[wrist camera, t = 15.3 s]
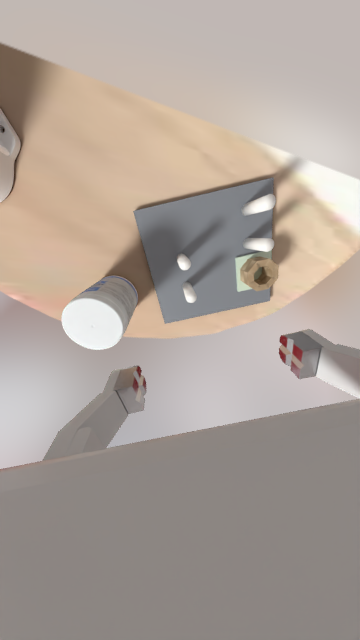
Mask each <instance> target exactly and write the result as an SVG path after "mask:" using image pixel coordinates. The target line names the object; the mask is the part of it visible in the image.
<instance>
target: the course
mask: <svg viewBox="0 0 360 640" xmlns="http://www.w3.org/2000/svg"><path fill="white" fill-rule="evenodd" d="M273 181H274V177H273V178H269V179H265V180H261V181H257V182H252V183H248V184H244V185H240V186H236V187H232V188H227V189H223V190H219V191H215V192H211V193H207V194H202V195H198V196H194V197H190V198H186V199H182V200H178V201H173V202H169V203H165V204H161V205H157V206H153V207H148V208H144V209H140V210H136V211H133V212H134V215H135V219H136V222H137V226H138V229H139V233H140V236H141V240H142V244H143V247H144V251H145V254H146V258H147V261H148V265H149V268H150V272H151V276H152V279H153V283H154V286H155V290H156V293H157V297H158V300H159V304H160V308H161V311H162V315H163V318H164V322H165V324H166V323H170V322H175V321H180V320H184V319H189V318H193V317H198V316H203V315H207V314H212V313H216V312H221V311H226V310H230V309H235V308H239V307H244V306H248V305H253V304H258V303H262V302H267V301H270V288H269V289H266V290H261V291H255V290H254V289H249V290H244V291H240V292H238V291H237V278H236V262H235V258H236V257H240V256H245V255H249V254H254V253H258V252H262V251H265V252H268V251H270V250H272V249H273V247H274V241H273V239H272V215H273V207H274V205H275V203H276V198H275V196H274V195H273Z"/></svg>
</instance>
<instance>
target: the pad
mask: <svg viewBox="0 0 360 640" xmlns="http://www.w3.org/2000/svg"><path fill="white" fill-rule="evenodd" d="M259 256H260V257H265V258H269V259H271V260H272V250H270V251H268V252H265V251H262V252H258V253H254V254H249V255H245V256H240V257H236V258H235V262H236V278H237V291H238V292H240V291H244V290H249V289H252V288H251V287H249V286H248V285H246V284H245V283H243V282H242V281H241V279H240V269H241V267H242V266H243V265H244V263H245V262H246V261H247V259H250V258H254V257H259ZM261 274H262V267H259V268H258V270H257V271H256V272H255V273H254V280H256V279H258V278H259V277H260V275H261Z"/></svg>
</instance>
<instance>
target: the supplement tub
mask: <svg viewBox="0 0 360 640" xmlns="http://www.w3.org/2000/svg"><path fill="white" fill-rule="evenodd" d="M137 302H138V294H137V291H136V289H135V287H134V285H133V284H132V283H131V282H130V281H129V280H127V279H125V278H123V277H120V276H115V275H113V276H107V277H104V278H103V279H101V280H100V281H98V282H97V283H95V284H94V285H92V286H91V287H89V288H88V289H86V290H85V291H84V292H82V293H81V294H79V295H78V296H76V297H75V298H74V299H72V300H71V301H70V303H69V304H68V305H67V306H66V307H65V308H64V310H63V313H62V325H63V328H64V330H65V332H66V334H67V335H68V336H69V337H70V338H71V339H72V340H73V341H74V342H76V343H77V344H79V345H81V346H83V347H85V348H89V349H96V350H102V349H107V348H110V347H112V346H114V345H115V344H116V343H118V341H119V340H120V339H121V337H122V336H123V335H124V333H125V331H126V328H127V326H128V324H129V322H130V319H131V317H132V315H133V312H134V310H135V308H136V305H137Z"/></svg>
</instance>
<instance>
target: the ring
mask: <svg viewBox="0 0 360 640" xmlns="http://www.w3.org/2000/svg"><path fill="white" fill-rule="evenodd" d="M259 267H262V274H261V275H260V277H259V278H258V279H256V280H254V273H255V272H256V271H257V270H258V268H259ZM278 267H279V266H278V265H277V264H276V263H274V262H273V261H272V260H271V259H269V258H265V257H260V256H259V257H254V258H250V259H247V261H246V262H245V263H244V265H243V266H242V267H241V269H240V279H241V281H242V282H243V283H245V284H246V285H248V286H249V287H251V288H252V289H254V290H255V291H261V290H266V289H269V288H270V287H271V286H272V285H273V284H274V282H275V281H276V280H277V278H278Z"/></svg>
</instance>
